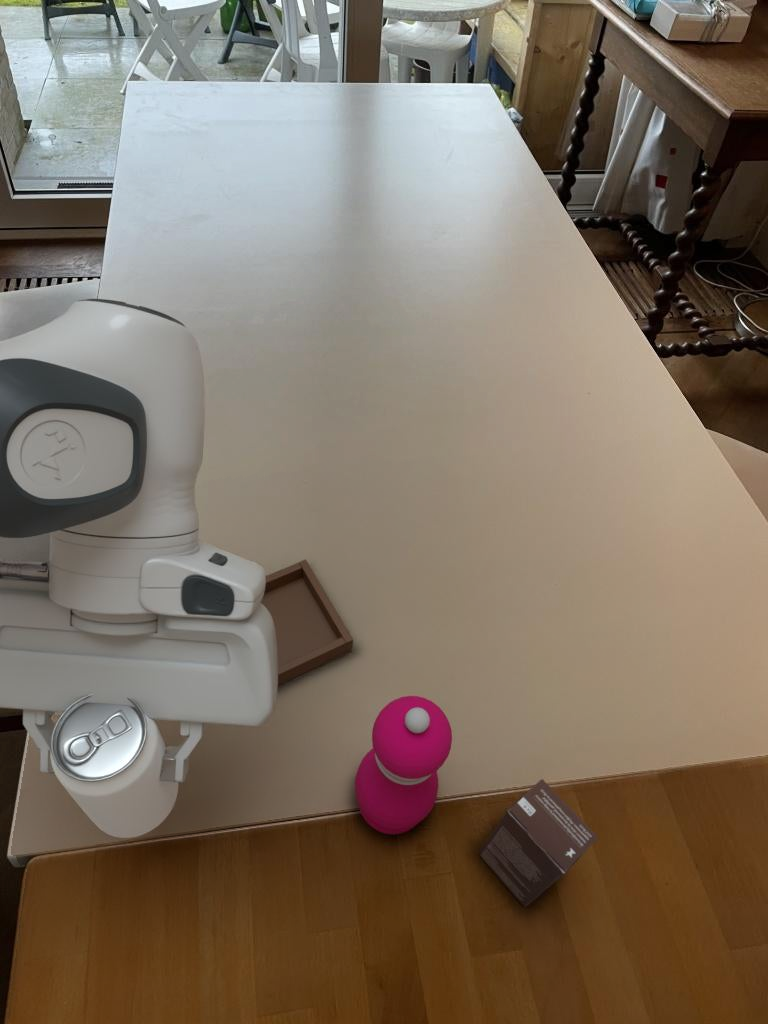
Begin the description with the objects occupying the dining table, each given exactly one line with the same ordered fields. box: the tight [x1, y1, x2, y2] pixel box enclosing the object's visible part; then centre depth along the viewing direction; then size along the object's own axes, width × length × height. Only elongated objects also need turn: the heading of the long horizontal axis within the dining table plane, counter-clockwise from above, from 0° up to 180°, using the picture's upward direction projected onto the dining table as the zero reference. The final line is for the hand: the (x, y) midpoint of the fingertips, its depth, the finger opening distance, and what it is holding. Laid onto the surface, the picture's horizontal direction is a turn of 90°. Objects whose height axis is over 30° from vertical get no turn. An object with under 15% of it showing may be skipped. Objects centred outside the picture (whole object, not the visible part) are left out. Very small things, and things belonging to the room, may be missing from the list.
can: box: [50, 695, 179, 839], centre depth 52 cm, size 6×6×12 cm
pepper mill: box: [354, 695, 453, 835], centre depth 63 cm, size 7×7×20 cm
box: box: [477, 778, 598, 908], centre depth 64 cm, size 6×4×12 cm
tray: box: [261, 559, 354, 686], centre depth 79 cm, size 12×11×2 cm
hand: (116, 773), depth 52 cm, fingers closed on can, 6 cm apart
